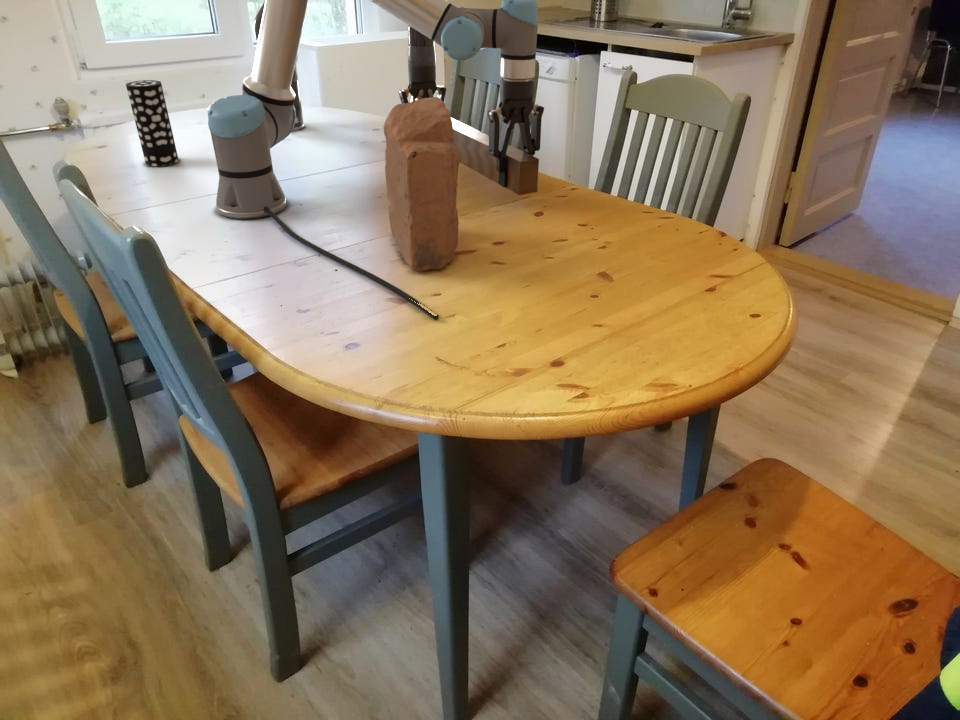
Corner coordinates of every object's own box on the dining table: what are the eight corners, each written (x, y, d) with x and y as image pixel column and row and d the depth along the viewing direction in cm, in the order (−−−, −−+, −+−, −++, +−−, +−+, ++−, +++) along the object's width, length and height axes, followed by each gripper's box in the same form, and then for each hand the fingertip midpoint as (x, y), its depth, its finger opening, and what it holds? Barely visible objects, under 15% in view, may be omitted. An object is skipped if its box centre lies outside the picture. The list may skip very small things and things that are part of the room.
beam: (537, 192, 158) (539, 158, 154) (518, 195, 156) (520, 161, 152) (422, 130, 204) (421, 103, 200) (407, 132, 202) (406, 105, 198)
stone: (470, 268, 131) (468, 114, 117) (412, 275, 128) (403, 119, 114) (440, 231, 149) (435, 93, 134) (388, 237, 146) (378, 97, 131)
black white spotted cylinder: (184, 157, 190) (167, 80, 179) (169, 166, 183) (151, 87, 172) (155, 156, 190) (136, 79, 179) (139, 165, 183) (119, 86, 172)
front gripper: (542, 72, 156) (537, 173, 168) (472, 79, 148) (472, 184, 161) (561, 78, 150) (554, 182, 163) (489, 85, 143) (487, 194, 155)
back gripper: (439, 58, 194) (440, 120, 203) (392, 62, 188) (395, 125, 197) (451, 62, 188) (451, 126, 197) (403, 66, 182) (405, 132, 191)
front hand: (513, 183), depth 162 cm, fingers closed on beam, 5 cm apart
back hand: (423, 125), depth 197 cm, fingers closed on beam, 5 cm apart
